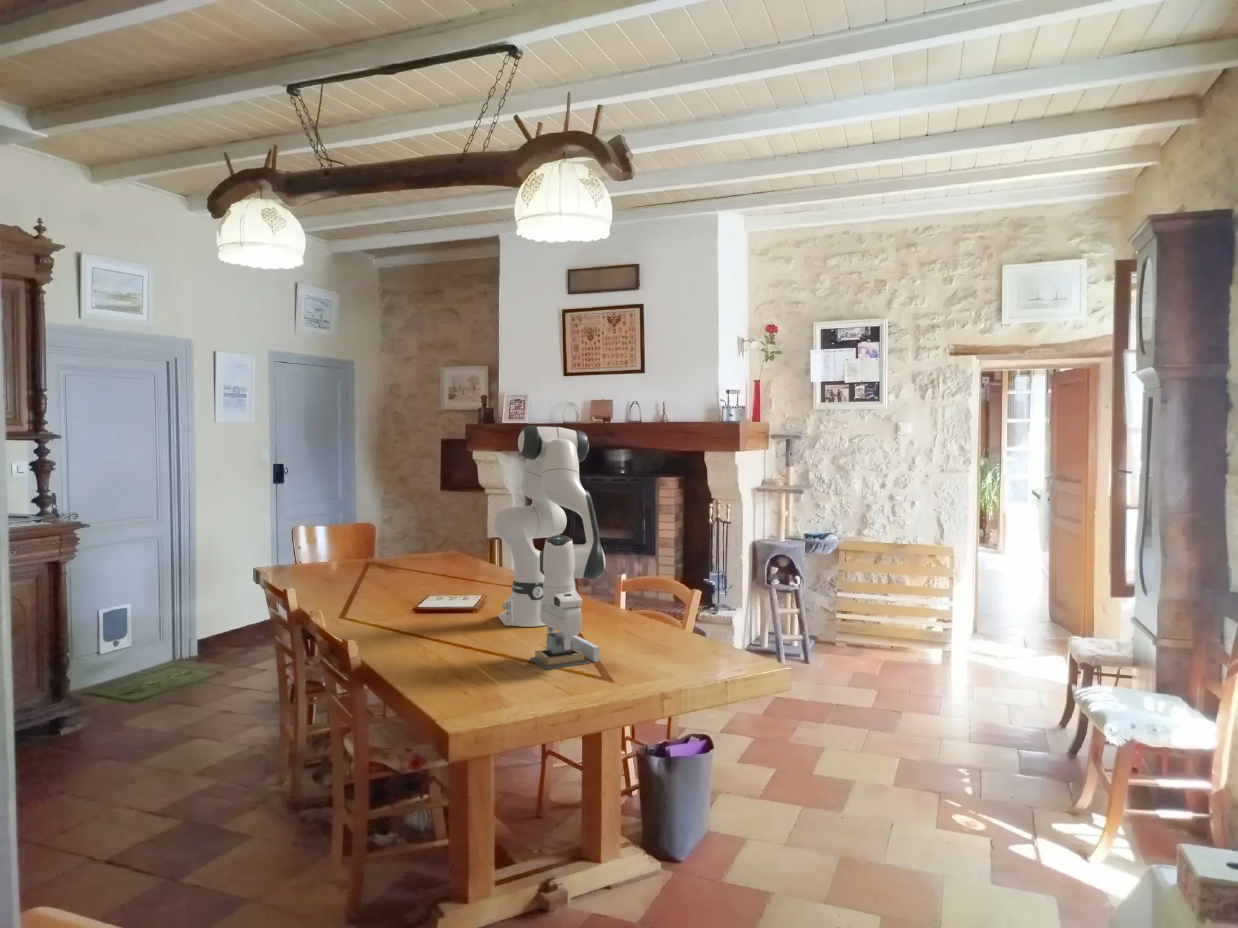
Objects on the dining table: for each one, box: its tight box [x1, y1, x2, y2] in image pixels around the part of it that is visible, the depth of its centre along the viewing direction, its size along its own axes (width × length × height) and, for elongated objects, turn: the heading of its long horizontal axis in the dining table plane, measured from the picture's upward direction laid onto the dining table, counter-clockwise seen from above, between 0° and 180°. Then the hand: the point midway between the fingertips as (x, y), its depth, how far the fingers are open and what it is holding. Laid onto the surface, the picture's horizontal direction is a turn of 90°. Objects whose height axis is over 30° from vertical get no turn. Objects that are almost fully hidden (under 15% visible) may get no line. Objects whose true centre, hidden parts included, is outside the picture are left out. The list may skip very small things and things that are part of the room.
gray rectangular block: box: [546, 631, 573, 657], centre depth 231 cm, size 4×6×7 cm, turn 118°
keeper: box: [529, 647, 590, 671], centre depth 231 cm, size 11×13×3 cm
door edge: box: [572, 635, 600, 663], centre depth 239 cm, size 18×2×4 cm, turn 28°
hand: (559, 645), depth 231 cm, fingers open, 8 cm apart
